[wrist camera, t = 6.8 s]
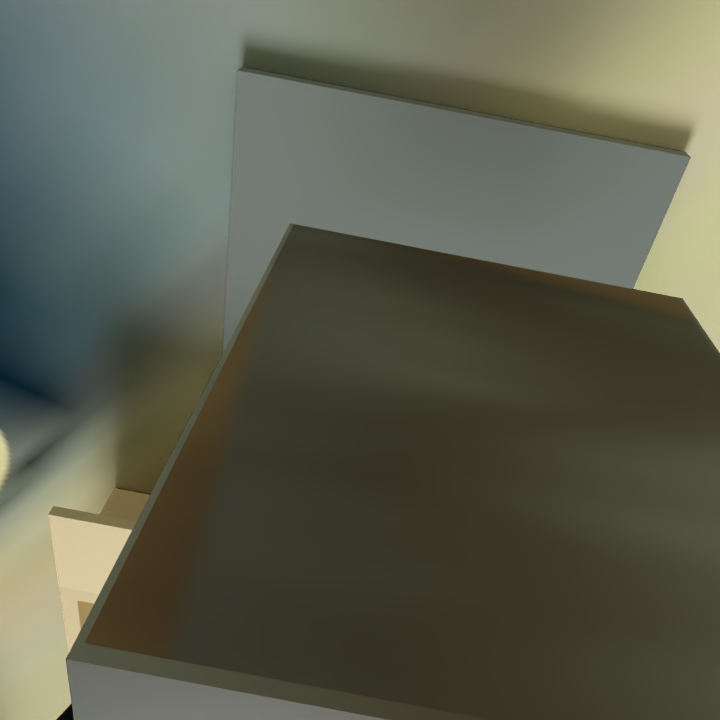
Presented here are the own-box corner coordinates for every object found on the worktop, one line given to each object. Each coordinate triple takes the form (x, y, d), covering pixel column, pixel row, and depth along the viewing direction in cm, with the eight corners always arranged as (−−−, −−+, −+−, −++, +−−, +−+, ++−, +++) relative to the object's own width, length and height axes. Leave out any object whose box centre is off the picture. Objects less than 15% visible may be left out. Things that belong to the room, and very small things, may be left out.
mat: (685, 152, 15) (691, 157, 14) (555, 452, 20) (557, 461, 19) (242, 66, 15) (237, 70, 14) (223, 389, 20) (220, 397, 19)
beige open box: (581, 508, 21) (608, 618, 18) (448, 777, 31) (449, 881, 28) (110, 419, 21) (48, 514, 17) (129, 719, 31) (92, 816, 27)
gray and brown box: (682, 298, 9) (1054, 843, 3) (493, 690, 13) (527, 1158, 8) (290, 223, 8) (65, 658, 3) (243, 643, 13) (122, 1084, 8)
